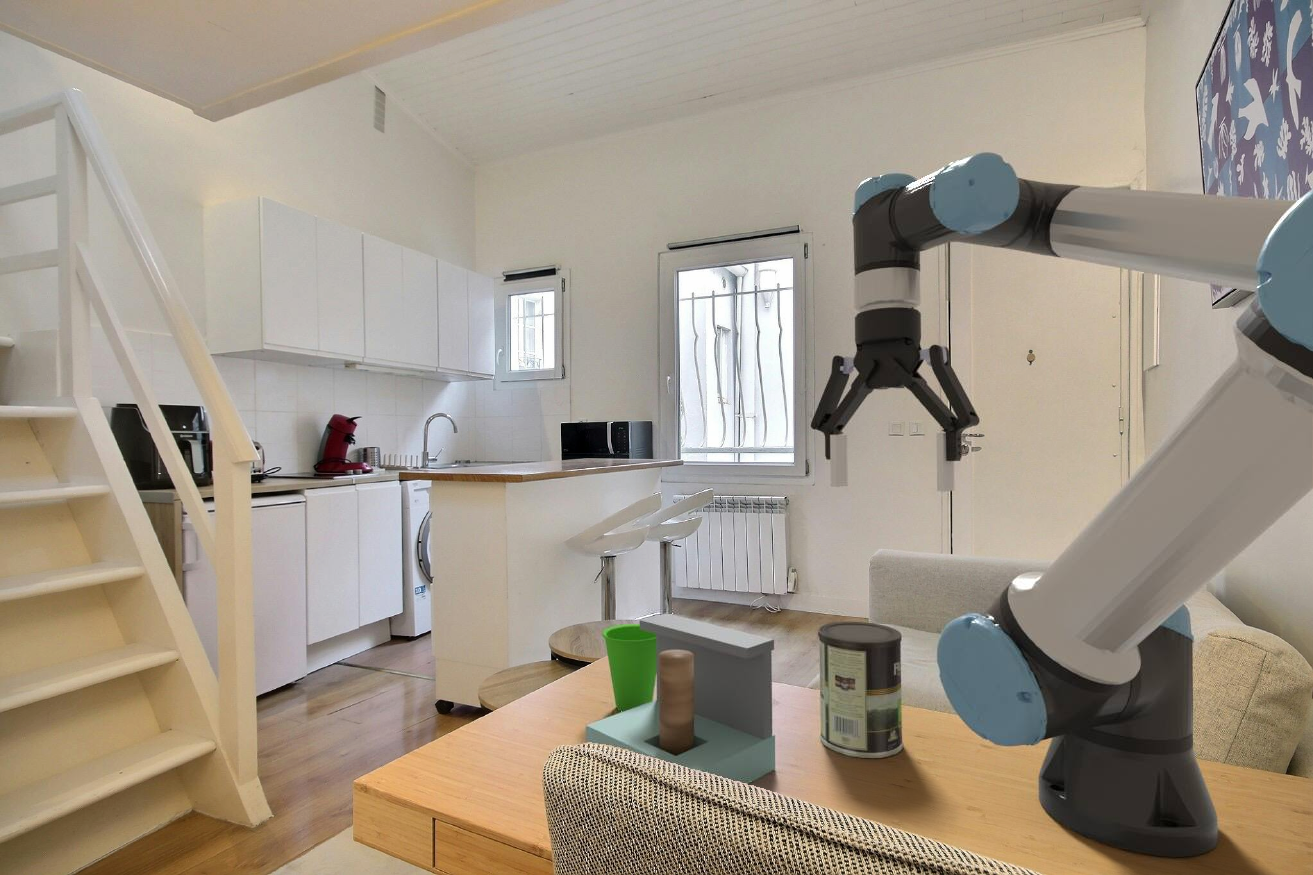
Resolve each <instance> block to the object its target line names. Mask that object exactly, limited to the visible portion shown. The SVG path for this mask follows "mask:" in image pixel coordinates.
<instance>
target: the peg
mask: <svg viewBox="0 0 1313 875" xmlns="http://www.w3.org/2000/svg"><path fill="white" fill-rule="evenodd" d="M659 741H660V749H661V750H663V751H665V752H668V753H670V754H672V755H674V756H678V755H680V754H682V753H684V752H687V751H689V750H691V749H693V748H694V655H693V653H692V652H690V651H686V650H666V651H663V652H661V653H659Z"/></svg>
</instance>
